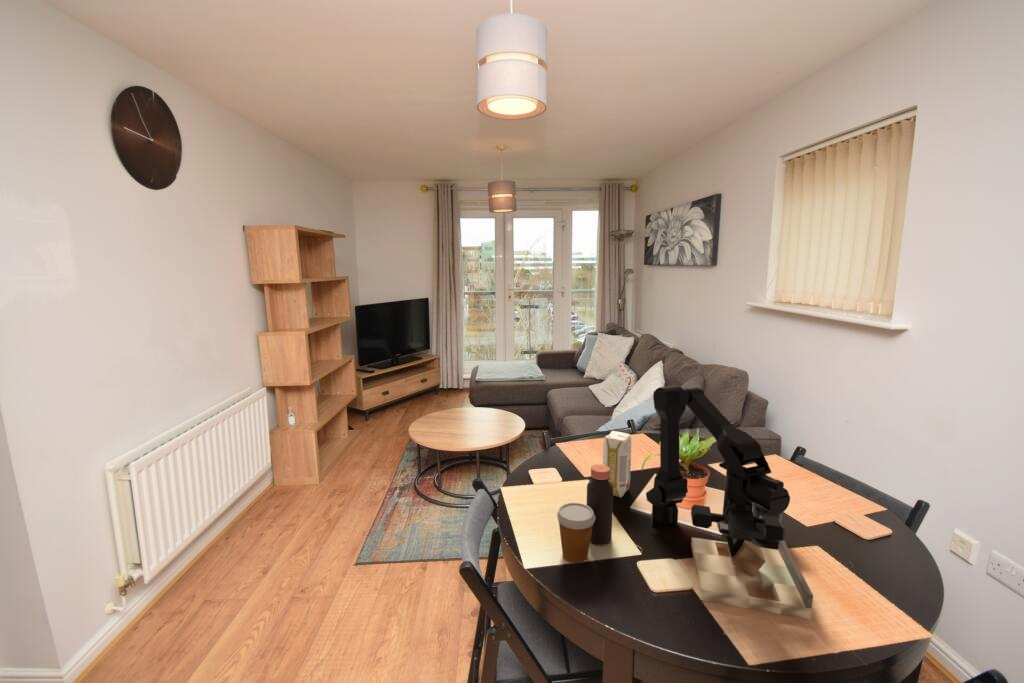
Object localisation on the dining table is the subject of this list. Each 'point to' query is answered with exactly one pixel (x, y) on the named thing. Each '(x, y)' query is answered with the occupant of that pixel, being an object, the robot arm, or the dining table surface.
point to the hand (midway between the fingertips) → (732, 556)
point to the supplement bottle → (761, 511)
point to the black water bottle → (600, 504)
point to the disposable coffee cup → (575, 531)
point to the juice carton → (618, 460)
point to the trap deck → (752, 580)
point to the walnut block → (748, 558)
